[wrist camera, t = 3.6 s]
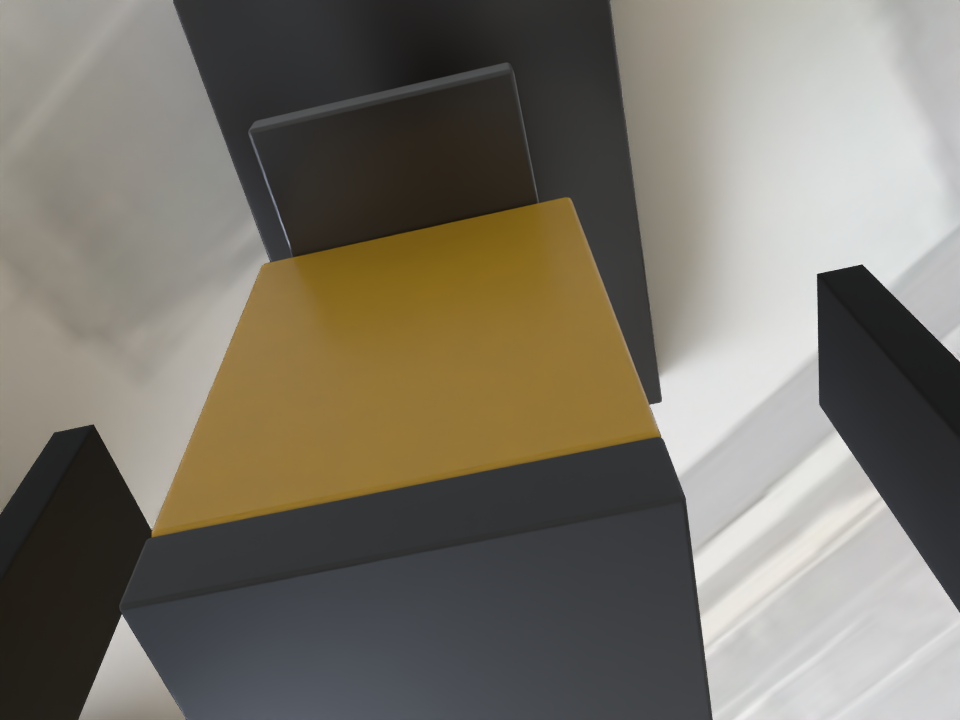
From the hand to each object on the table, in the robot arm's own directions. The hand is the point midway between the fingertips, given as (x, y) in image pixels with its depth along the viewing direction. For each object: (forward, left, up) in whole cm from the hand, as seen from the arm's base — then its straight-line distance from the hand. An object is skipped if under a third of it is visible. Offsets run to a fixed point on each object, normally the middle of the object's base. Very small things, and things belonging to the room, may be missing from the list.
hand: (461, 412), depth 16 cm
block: (0, 0, -1) cm, 1 cm away
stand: (0, 0, -10) cm, 10 cm away
